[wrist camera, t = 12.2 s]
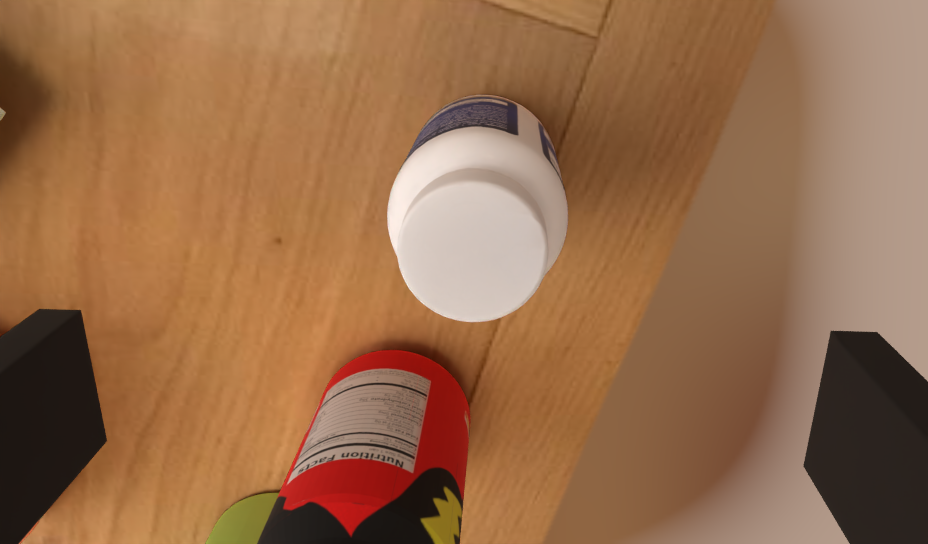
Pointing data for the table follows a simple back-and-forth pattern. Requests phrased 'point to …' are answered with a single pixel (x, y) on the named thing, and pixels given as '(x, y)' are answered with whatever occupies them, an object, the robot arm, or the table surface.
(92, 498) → the table surface
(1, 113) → the pale green cover
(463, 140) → the pill bottle
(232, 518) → the tumbler
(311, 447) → the beverage can
